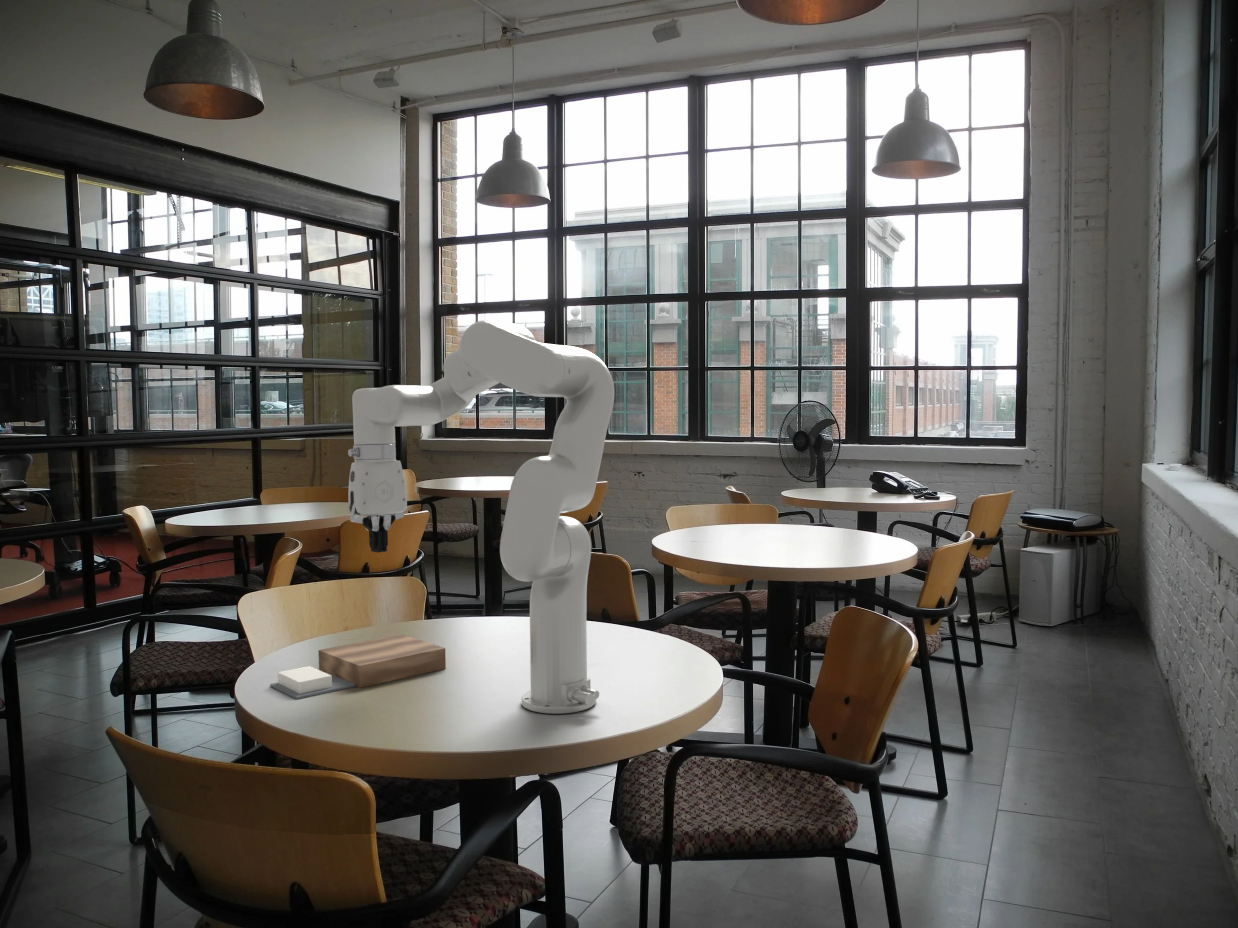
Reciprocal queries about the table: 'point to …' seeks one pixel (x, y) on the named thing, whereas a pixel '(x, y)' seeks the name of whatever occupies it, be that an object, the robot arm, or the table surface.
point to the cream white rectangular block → (304, 679)
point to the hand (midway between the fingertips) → (378, 551)
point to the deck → (382, 660)
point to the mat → (336, 685)
